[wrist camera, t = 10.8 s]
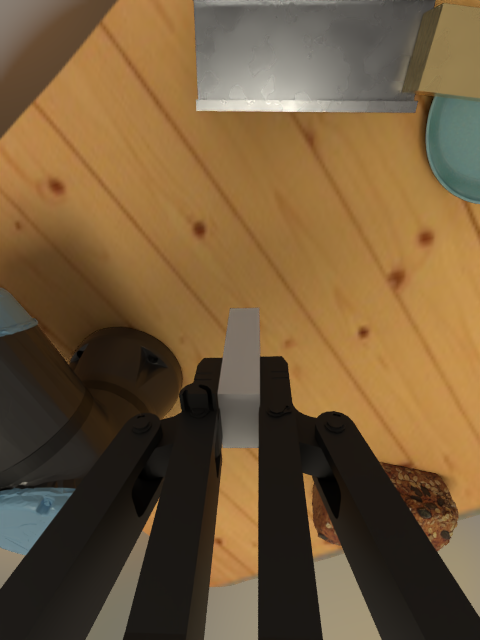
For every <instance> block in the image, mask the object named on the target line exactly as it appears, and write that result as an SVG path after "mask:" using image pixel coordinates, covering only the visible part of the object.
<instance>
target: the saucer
mask: <svg viewBox="0 0 480 640" xmlns="http://www.w3.org/2000/svg"><path fill="white" fill-rule="evenodd" d="M426 151H427V157H428V160H429V164H430V167H431V169H432V171H433V173H434V175H435V177H436V178H437V180H438V181H439V182H440V184H441V185H442V186H443V187H444V188H445V189H446V190H448V191H449V192H450V193H452V194H453V195H455V196H456V197H459V198H461V199H463V200H465V201H468V202H471V203H475V204H480V102H477V101H468V100H460V99H452V98H444V97H436V96H434V98H433V101H432V104H431V107H430V111H429V115H428V119H427V126H426Z"/></svg>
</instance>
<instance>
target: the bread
mask: <svg viewBox="0 0 480 640" xmlns="http://www.w3.org/2000/svg"><path fill="white" fill-rule="evenodd" d="M379 463H380V464H381V466H382V467H383V469H384V470H385V472H386V474H387V475H388V477H389V478H390V480H391V481H392V483H393V484H394V486H395V487H396V489H397V491H398V492H399V494H400V495H401V497H402V498H403V500H404V501H405V503H406V504H407V506H408V508H409V509H410V511H411V512H412V514H413V515H414V517H415V518H416V520H417V521H418V523H419V525H420V526H421V528H422V529H423V531H424V532H425V534H426V535H427V537H428V538H429V540H430V542H431V543H432V545H433V546H434V548H435V549H436V551H438V550H440V549H441V548H442V547H443V546H444V545H447V544H448V543H449V539H450V538H451V536H452V535H453V530H454V528H455V527H457V519H458V510H457V507H456V505H455V502H454V501H453V500H452V497H451V495H450V492H449V489H448V488H447V486H446V485H445V483H444V482H443V481H442V479H441V478H440V477H439V476H438V475H437V474H435V473H431V472H428V473H427V472H424V471H419V470H416V469H408V468H406V467H403V466H396V465H390V464H385V463H381V462H379ZM312 506H313V522H314V525H315V528H316V530H317V533H318V537H319V538H322V539H324V540H325V541H327V542H330V543H332V544H336V545H340V546H341V543H340V541H339V539H338V536H337V534H336V532H335V529H334V527H333V525H332V522H331V520H330V518H329V515H328V513H327V511H326V509H325V506H324V504H323V502H322V499H321V497H320V495H319V492H318V490H317V488H316V485H315V483H314V487H313V499H312Z"/></svg>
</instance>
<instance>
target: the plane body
mask: <svg viewBox="0 0 480 640" xmlns="http://www.w3.org/2000/svg"><path fill="white" fill-rule="evenodd" d="M193 2H194V17H195V40H196V63H197V86H198V100H196V111H279V112H387V113H415V112H416V107H417V103H418V101H414V97H415V94H411V93H403V92H402V89H403V86H404V82H405V79H406V75H407V71H408V68H409V64H410V61H411V57H412V53H413V50H414V46H415V42H416V39H417V35H418V32H419V28H420V24H421V21H422V17H423V14H424V13H425V12H427V11H429V10H431V9H433V8H434V4H435V0H193Z"/></svg>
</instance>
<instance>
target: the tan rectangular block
mask: <svg viewBox="0 0 480 640" xmlns="http://www.w3.org/2000/svg"><path fill="white" fill-rule="evenodd" d="M402 92H403V93H411V94H420V95H428V96H436V97H444V98H452V99H460V100H468V101H477V102H480V8H476V7H468V6H461V5H454V4H447V3H443V4H441V5H439V6H437V7H435V8H433V9H431V10H429V11H427V12H425V13H424V14H423V17H422V21H421V24H420V28H419V32H418V35H417V39H416V42H415V46H414V50H413V53H412V57H411V61H410V64H409V68H408V71H407V75H406V79H405V82H404V86H403V89H402Z"/></svg>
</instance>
